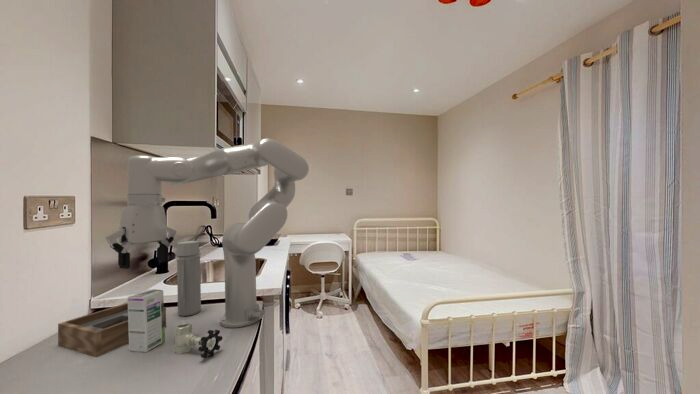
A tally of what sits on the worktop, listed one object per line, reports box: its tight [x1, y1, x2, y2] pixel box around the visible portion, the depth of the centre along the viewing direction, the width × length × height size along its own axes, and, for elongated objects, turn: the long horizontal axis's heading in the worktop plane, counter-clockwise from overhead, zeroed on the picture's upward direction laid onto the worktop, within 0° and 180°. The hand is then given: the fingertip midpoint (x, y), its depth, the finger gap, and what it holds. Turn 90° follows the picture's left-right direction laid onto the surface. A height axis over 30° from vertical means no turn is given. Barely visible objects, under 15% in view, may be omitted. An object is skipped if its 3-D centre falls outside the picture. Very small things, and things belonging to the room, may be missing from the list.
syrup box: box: [127, 289, 166, 353], centre depth 76 cm, size 6×6×14 cm
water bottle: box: [175, 240, 202, 317], centre depth 98 cm, size 9×8×25 cm
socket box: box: [57, 302, 167, 358], centre depth 82 cm, size 18×18×6 cm
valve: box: [173, 322, 223, 359], centre depth 71 cm, size 7×7×12 cm
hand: (144, 264), depth 76 cm, fingers open, 9 cm apart
